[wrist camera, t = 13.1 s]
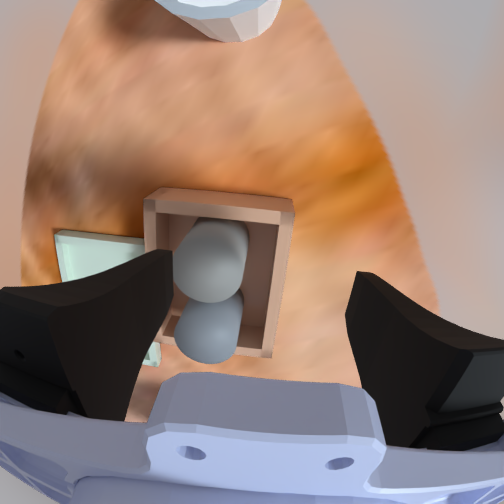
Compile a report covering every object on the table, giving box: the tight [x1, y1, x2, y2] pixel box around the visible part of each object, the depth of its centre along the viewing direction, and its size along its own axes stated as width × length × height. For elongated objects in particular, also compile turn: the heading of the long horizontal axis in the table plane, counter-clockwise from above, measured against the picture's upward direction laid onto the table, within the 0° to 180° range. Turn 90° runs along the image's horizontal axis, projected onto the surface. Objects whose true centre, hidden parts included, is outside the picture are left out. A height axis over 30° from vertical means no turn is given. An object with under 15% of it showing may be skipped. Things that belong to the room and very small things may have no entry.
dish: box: [143, 187, 295, 358], centre depth 21 cm, size 11×9×3 cm
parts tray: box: [54, 230, 162, 367], centre depth 24 cm, size 12×9×1 cm
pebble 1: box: [173, 216, 250, 303], centre depth 19 cm, size 4×4×5 cm
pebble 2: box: [174, 288, 244, 364], centre depth 21 cm, size 4×4×5 cm
